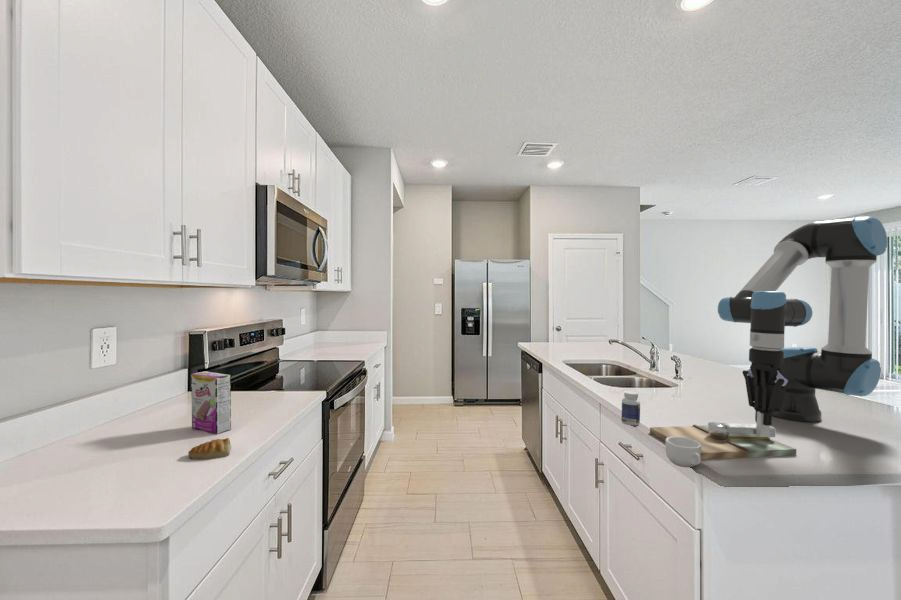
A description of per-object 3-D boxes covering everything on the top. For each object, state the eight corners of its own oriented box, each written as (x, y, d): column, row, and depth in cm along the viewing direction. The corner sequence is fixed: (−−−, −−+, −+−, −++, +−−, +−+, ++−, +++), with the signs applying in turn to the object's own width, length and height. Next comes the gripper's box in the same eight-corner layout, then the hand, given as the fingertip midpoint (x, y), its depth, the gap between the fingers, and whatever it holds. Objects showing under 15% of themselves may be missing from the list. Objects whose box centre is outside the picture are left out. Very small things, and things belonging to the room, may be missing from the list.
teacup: (658, 458, 110) (658, 436, 110) (686, 456, 111) (687, 435, 111) (684, 475, 100) (684, 452, 100) (714, 473, 101) (715, 450, 101)
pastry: (187, 463, 104) (187, 447, 104) (189, 454, 110) (189, 439, 110) (231, 457, 108) (231, 441, 108) (231, 448, 114) (231, 433, 114)
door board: (736, 429, 133) (736, 422, 132) (796, 455, 113) (796, 446, 113) (649, 432, 129) (650, 424, 129) (696, 459, 109) (696, 450, 109)
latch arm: (714, 436, 118) (714, 423, 118) (704, 430, 123) (704, 417, 123) (777, 438, 118) (777, 424, 118) (764, 432, 123) (765, 419, 123)
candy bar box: (190, 429, 128) (189, 373, 127) (206, 424, 133) (205, 370, 132) (216, 435, 123) (216, 377, 123) (232, 429, 128) (231, 374, 127)
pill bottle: (641, 426, 135) (642, 395, 134) (623, 425, 136) (623, 394, 135) (637, 421, 140) (638, 391, 140) (619, 420, 141) (620, 390, 141)
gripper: (734, 345, 123) (731, 428, 124) (774, 351, 110) (770, 444, 111) (758, 345, 124) (755, 428, 125) (801, 352, 111) (797, 444, 112)
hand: (762, 436), depth 118 cm, fingers closed
